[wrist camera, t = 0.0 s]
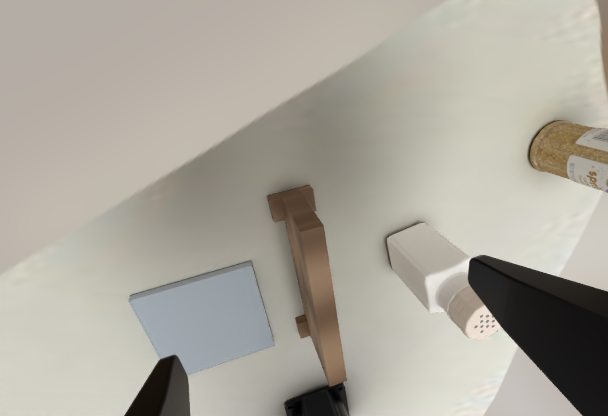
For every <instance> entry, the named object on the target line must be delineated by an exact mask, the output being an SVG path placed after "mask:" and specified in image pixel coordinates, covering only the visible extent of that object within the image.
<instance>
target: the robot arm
mask: <svg viewBox="0 0 608 416" xmlns="http://www.w3.org/2000/svg"><path fill="white" fill-rule="evenodd" d="M468 282H469V285H470V286H471V288H472V289H473V291H474V292H475V293H476V294H477V296H478V297H479V298H480V300H481V301H482V302H483V304H484V305H485V306H486V308H487V309H488V310H489V312H490V313H491V314H492V316H493V317H494V318H495V319H496V321H497V322H498V323H499V324H500V326H501V327H502V328H503V329H504V330H505V332H506V333H507V334H508V335H509V336H510V337H511V338H512V339H513V340H514V341H515V343H516V344H517V345H518V346H519V347H520V348H521V349H522V350H523V351H524V352H525V353H526V354H527V356H528V357H529V358H530V359H531V360H532V361H533V362H534V363H535V364H536V365H537V367H538V368H539V369H540V370H542V372H543V373H544V374H545V375H546V376H547V377H548V379H549V380H550V381H551V382H552V383H553V384H554V385H555V386H556V387H557V388H558V389H559V390H560V392H562V394H563V395H564V396H565V397H566V398H567V399H568V400H569V401H570V403H572V405H573V406H574V407H575V408H576V409H577V410H578V411H579V412H580V413H581V414H582V416H608V292H607V291H604V290H601V289H597V288H594V287H590V286H587V285H584V284H581V283H577V282H574V281H570V280H567V279H563V278H560V277H557V276H554V275H550V274H547V273H543V272H540V271H537V270H533V269H530V268H527V267H523V266H520V265H517V264H513V263H510V262H506V261H503V260H500V259H496V258H493V257H490V256H486V255H480V256H477V257H474V258H471V259H470V261H469V269H468ZM285 410H286V413H287V416H349V411H348V405H347V398H346V392H345V387H344V384H343V383H339V384H336V385H334V386H331V387H329V386H328V387H325V388H323V389H320V390H317V391H314V392H312V393H309V394H306V395H304V396H301V397H298V398H295V399H293V400H290V401H288V402H286V403H285ZM124 416H190V402H189V384H188V377H187V373H186V371H185V369H184V367H183V365H182V363H181V361H180V359H179V357H178V356H177V355H170V356H167V357H164V358H162V359H160V360H159V361H158V363H157V364H156V366H155V367H154V369H153V371H152V372H151V374H150V375H149V377H148V379H147V380H146V382H145V383H144V385H143V387H142V388H141V390H140V391H139V393H138V395H137V396H136V398H135V399H134V401H133V402H132V404H131V406H130V407H129V409H128V410H127V412H126V414H125V415H124Z"/></svg>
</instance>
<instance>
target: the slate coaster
mask: <svg viewBox="0 0 608 416" xmlns="http://www.w3.org/2000/svg"><path fill="white" fill-rule="evenodd" d="M129 303H130V305H131V306H132V308H133V310H134V312H135V314H136V316H137V317H138V319H139V321H140V323H141V325H142V327H143V328H144V330H145V332H146V334H147V336H148V338H149V340H150V341H151V343H152V345H153V347H154V349H155V351H156V352H157V354H158V356H159V358H160V359H162V358H164V357H167V356H170V355H177V356H178V357H179V359H180V361H181V363H182V365H183V367H184V369H185V371H186V373H187V375H189V374H192V373H195V372H198V371H201V370H204V369H207V368H210V367H213V366H216V365H219V364H222V363H225V362H227V361H230V360H233V359H236V358H239V357H242V356H245V355H248V354H251V353H254V352H257V351H260V350H263V349H266V348H269V347H272V346H275V344H274V340H273V337H272V333H271V330H270V326H269V323H268V319H267V316H266V312H265V309H264V306H263V302H262V299H261V295H260V292H259V288H258V285H257V281H256V278H255V274H254V271H253V267H252V264H251V261H249V262H245V263H242V264H238V265H235V266H231V267H228V268H225V269H221V270H218V271H214V272H211V273H207V274H204V275H200V276H197V277H193V278H190V279H186V280H183V281H179V282H176V283H172V284H169V285H166V286H162V287H159V288H155V289H152V290H148V291H145V292H141V293H138V294H134V295H131V296H130V298H129Z"/></svg>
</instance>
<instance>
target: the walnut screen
mask: <svg viewBox="0 0 608 416" xmlns="http://www.w3.org/2000/svg"><path fill="white" fill-rule="evenodd" d="M267 197H268V201H269V205H270V210H271V214H272V218H273V221H274V222H277V221H281V220H285V222H286V227H287V231H288V236H289V241H290V246H291V250H292V255H293V260H294V265H295V269H296V274H297V279H298V283H299V288H300V293H301V298H302V302H303V307H304V312H305V315H303V316H300V317H297V318H296V322H297V326H298V331H299V334H300V337H301V338H304V337H307V336H310V335H311V338H312V341H313V343H314V346H315V349H316V351H317V354H318V357H319V360H320V362H321V365H322V368H323V370H324V373H325V376H326V378H327V381H328V384H329V387H331V386H334V385H336V384H339V383H342V382H344V381H347V379H346V372H345V366H344V359H343V352H342V345H341V339H340V332H339V325H338V319H337V312H336V305H335V299H334V292H333V285H332V279H331V272H330V265H329V258H328V252H327V245H326V238H325V232H324V226H323V224H322V223H321V221H320V220H319V218H318V217H317V215H316V214H315V212H314V211H316V208H315V201H314V195H313V189H312V188H311V187H310V185H308V186H305V187H301V188H297V189H293V190H289V191H285V192H281V193H277V194H273V195H269V196H267Z"/></svg>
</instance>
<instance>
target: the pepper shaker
mask: <svg viewBox="0 0 608 416" xmlns="http://www.w3.org/2000/svg"><path fill="white" fill-rule="evenodd" d="M387 245H388V250H389V255H390V260H391V265H392V270H393V271H394V272H395V273H396V274H397V275H398V276H399V278H400V279H401V280H402V281H403V282H404V283H405V284H406V286H407V287H408V288H409V289H410V290H411V291H412V292H413V294H414V295H415V296H416V297H417V298H418V299H419V301H420V302H421V303H422V304H423V305H424V306H425V307H426V309H427V310H428V311H429V312H432V313H439V312H443V311H446V312H447V315H448V316H449V318H450V319H451V320H452V321H453V322H454V323H455V324H456V325H457V326H458V327H459V328H460V329H461V331H462V332H463V333H464V334H465V335H466V336H467V337H468V338H471V339H475V340H479V339H482V338H486V337H488V336H490V335H491V334H493V333H494V332H496V331H497V330H498V329H499V328H500V327H501V326H500V324H499V323H498V322H497V321H496V319H495V318H494V317H493V316H492V314H491V313H490V312H489V310H488V309H487V308H486V306H485V305H484V304H483V302H482V301H481V300H480V298H479V297H478V296H477V294H476V293H475V292H474V291H473V289H472V288H471V286H470V285H469V282H468V269H469V261H470V259H471V258H470V256H468V255H467V254H466V253H464V252H463V251H462V250H460V249H459V248H458V247H456V246H455V245H454V244H453V243H451V242H450V241H449V240H447V239H446V238H445V237H443V236H442V235H441V234H439V233H438V232H437V231H435V230H434V229H433V228H432V227H430V226H429V225H428V224H425V223H419V224H417V225H415V226H412V227H410V228H407V229H405V230H403V231H400V232H398V233H395V234H393V235H391V236H389V237H388V238H387Z"/></svg>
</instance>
